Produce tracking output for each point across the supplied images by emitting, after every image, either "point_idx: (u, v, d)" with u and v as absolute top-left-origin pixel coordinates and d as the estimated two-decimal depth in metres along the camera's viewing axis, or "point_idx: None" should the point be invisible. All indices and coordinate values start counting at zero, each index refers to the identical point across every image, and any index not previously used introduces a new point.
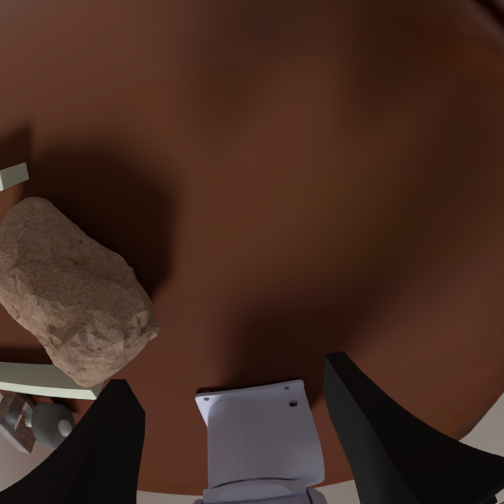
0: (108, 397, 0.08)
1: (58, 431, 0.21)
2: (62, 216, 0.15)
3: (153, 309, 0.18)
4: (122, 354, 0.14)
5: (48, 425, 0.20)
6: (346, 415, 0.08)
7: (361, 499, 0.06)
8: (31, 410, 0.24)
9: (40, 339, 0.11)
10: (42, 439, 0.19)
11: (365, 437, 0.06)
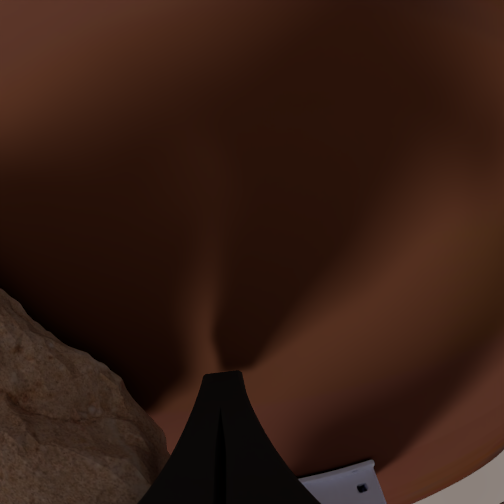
0: (214, 393, 0.08)
1: None
2: None
3: (163, 440, 0.09)
4: None
5: None
6: None
7: None
8: None
9: None
10: None
11: None
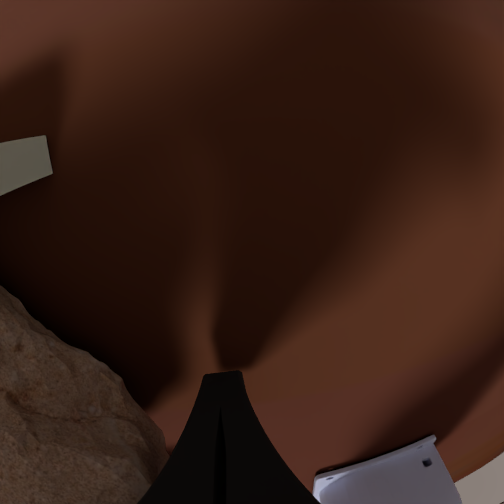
0: (214, 393, 0.08)
1: None
2: None
3: (162, 440, 0.09)
4: None
5: None
6: None
7: None
8: None
9: None
10: None
11: None
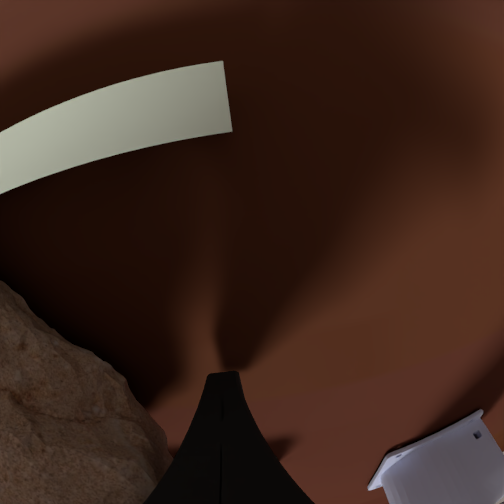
0: (218, 392, 0.08)
1: None
2: None
3: (165, 441, 0.09)
4: None
5: None
6: None
7: None
8: None
9: None
10: None
11: None
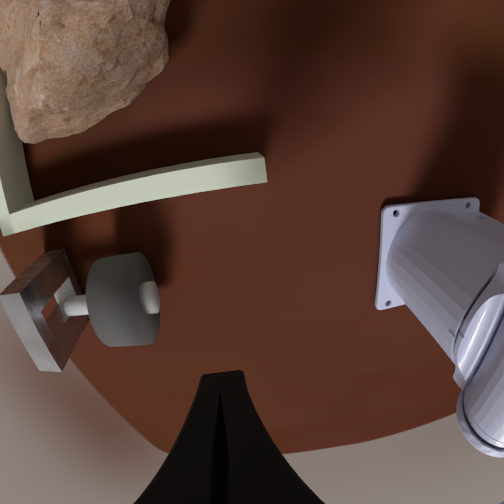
0: (211, 393, 0.08)
1: (139, 299, 0.15)
2: None
3: None
4: (120, 23, 0.08)
5: (127, 278, 0.14)
6: None
7: None
8: None
9: (28, 2, 0.05)
10: (106, 313, 0.13)
11: None
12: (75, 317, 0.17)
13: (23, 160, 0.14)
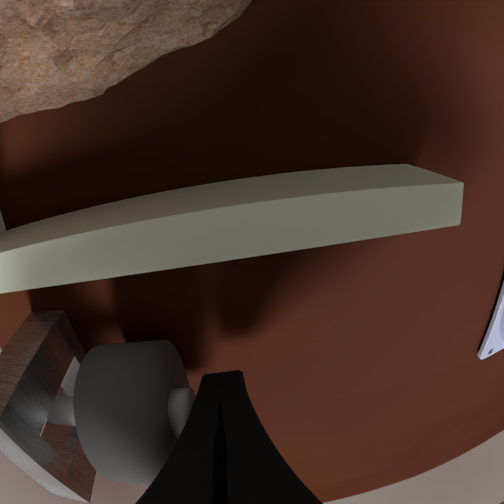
0: (213, 393, 0.08)
1: (171, 426, 0.08)
2: None
3: None
4: None
5: (148, 408, 0.07)
6: None
7: None
8: None
9: None
10: (119, 463, 0.06)
11: None
12: None
13: None
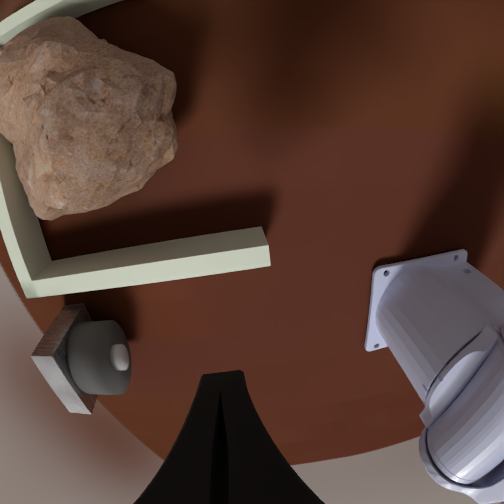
0: (211, 393, 0.08)
1: (110, 361, 0.17)
2: (90, 31, 0.11)
3: None
4: (129, 130, 0.10)
5: (98, 347, 0.16)
6: None
7: None
8: None
9: (27, 100, 0.07)
10: (84, 374, 0.15)
11: None
12: None
13: (37, 224, 0.16)
